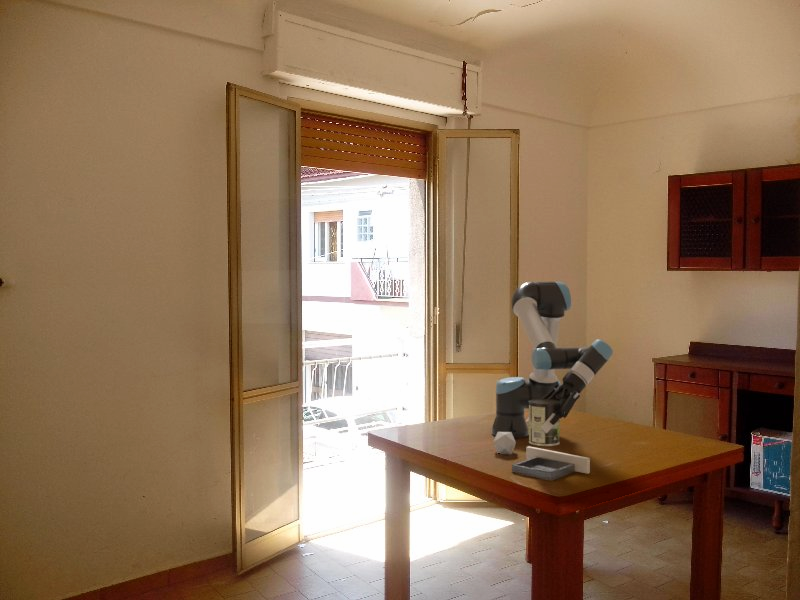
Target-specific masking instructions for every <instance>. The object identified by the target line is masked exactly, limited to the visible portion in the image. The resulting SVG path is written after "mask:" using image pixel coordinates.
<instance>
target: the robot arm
mask: <svg viewBox="0 0 800 600" xmlns="http://www.w3.org/2000/svg"><path fill="white" fill-rule="evenodd" d="M510 306H511V309H512V311H513V314H514V315H515V316H516V317H518V318H519V320H520V322H521V325H522V327H523V329H524V331H525V334H526V335H527V337H528V340H529V343H530V344H531V346H532V349H533V350H532V353H531V361H532V362H531V363H532V367H533V372H531V373H530V374H529V376H528V377H529V379H528V380H525V377H521V376H510V377H505V378H501V379H499V380H498V381H497V382H496V387H495V417H494V421H493V424H492V427H491V434H493V436H494V437H496V435H497V432H512V435H513V437H514V439H522V438H526V437H529V426H528V425H529V417H528V418H527V419H526V417H525V410H529V400H533V399H552V400H557V401H559V405H558V407H557V410H556V411H554V413H552V415H551V416H550V417H549V418H548V419H547V421H546V422H545V423H544V424H543V425H542V426H541V429H542V430H543V431H544V432H545V433H548V431H549V430H550V429H551V428H552V427H553V426H554V424H555V423H556V422H557V421H558V420H559V421H560V419H562V418H563V419H566V418H567V417H568V415H569V413H570V411H571V410H572V409H573V407H574V406H575V403H576V401H578V399H579V398H581V395H580V394H581V392H582V391H583V390H584V389H586V387H587V386H586V385H588V384H589V383H590V382H592V380H593V378H594V377H595V376H596V375H597V373H599V371H600V370H601V369H602V368H603V367H604V366H605V364H607V362H609V360H610V359H611V357H612V355H613V354H614V353H613V352H614V350H613V349H612V347H611V346H610V345H609V344H608V343H607V342H605V341H604V340H602V339H595V340H594V341H593V343H591V344H590V346H588V347H587V346H586V347H558V343H559V334H560V333H559V332H560V323H561V319H563V318H564V317H565V312H568V311H569V310H570V309H571V306H572V295H571V292H570V288H569V286H568V285H567V284H566V283H564V282H562V281H527V282H524V283H522V284H520V285H519V286H517V288H516V289H515V290H514V292H513V293H512V296H511V300H510ZM556 370H569V371H567V372H566V374H565V375H564V376H563V377H562V379H561V381H562V383H561V381H560V380H559V378H558V377H557V376H558V375H556V374H555V371H556Z"/></svg>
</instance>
